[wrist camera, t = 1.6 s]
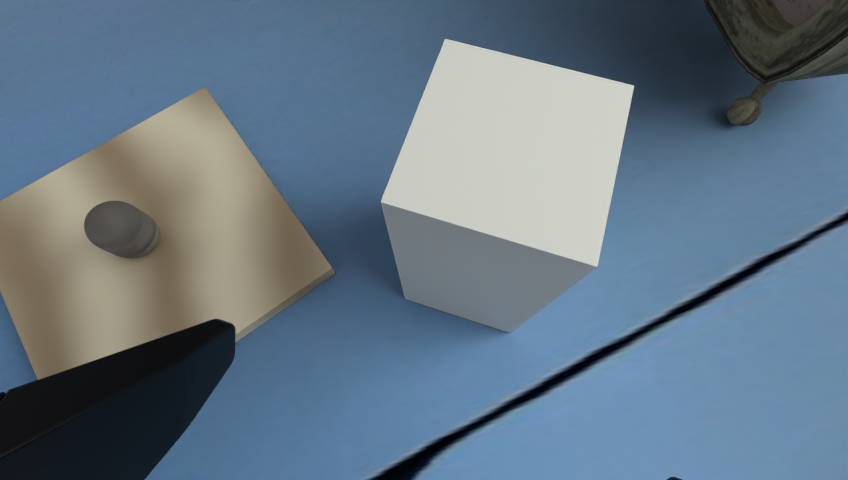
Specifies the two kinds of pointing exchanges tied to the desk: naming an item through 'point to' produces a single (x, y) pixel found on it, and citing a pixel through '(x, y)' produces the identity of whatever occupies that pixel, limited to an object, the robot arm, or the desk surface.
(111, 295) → the post stand
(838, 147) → the desk surface
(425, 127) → the tall white pillar
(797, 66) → the tabletop clock
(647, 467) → the desk surface
